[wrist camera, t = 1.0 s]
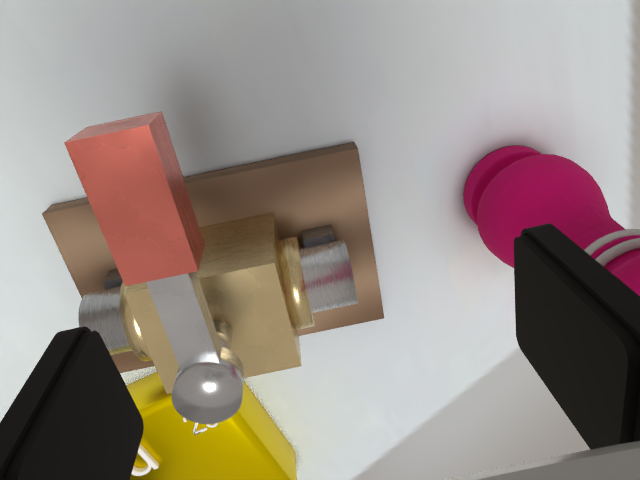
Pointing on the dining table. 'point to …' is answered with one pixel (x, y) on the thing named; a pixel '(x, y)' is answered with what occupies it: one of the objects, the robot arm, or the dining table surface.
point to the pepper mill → (547, 208)
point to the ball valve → (235, 296)
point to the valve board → (245, 201)
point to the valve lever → (159, 252)
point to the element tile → (207, 441)
